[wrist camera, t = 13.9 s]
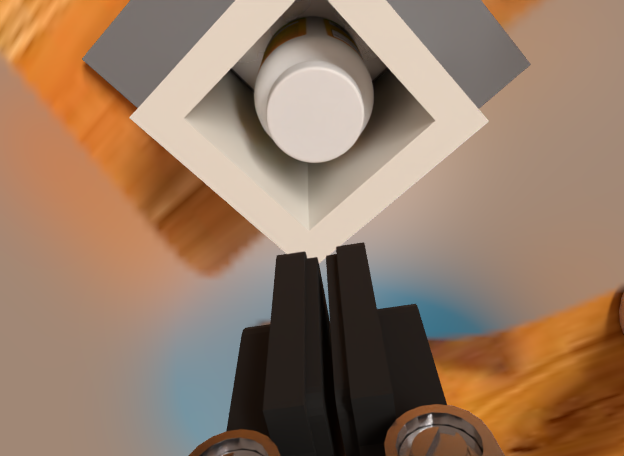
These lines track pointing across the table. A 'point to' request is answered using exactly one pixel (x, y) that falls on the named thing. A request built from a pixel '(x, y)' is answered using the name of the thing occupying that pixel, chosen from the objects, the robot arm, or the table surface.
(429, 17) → the mat
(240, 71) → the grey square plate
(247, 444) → the robot arm
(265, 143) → the sleeve
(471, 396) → the table surface
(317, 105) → the supplement bottle
